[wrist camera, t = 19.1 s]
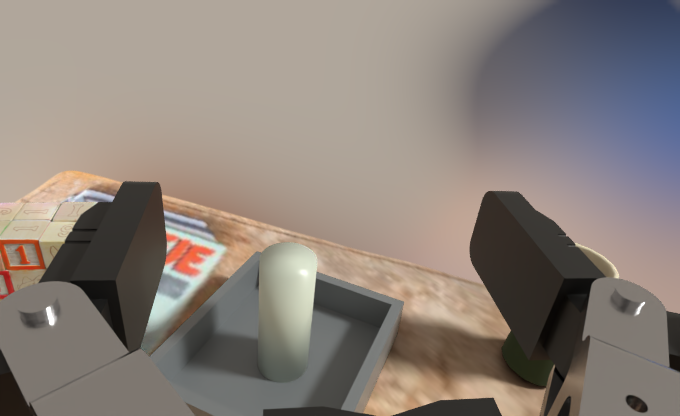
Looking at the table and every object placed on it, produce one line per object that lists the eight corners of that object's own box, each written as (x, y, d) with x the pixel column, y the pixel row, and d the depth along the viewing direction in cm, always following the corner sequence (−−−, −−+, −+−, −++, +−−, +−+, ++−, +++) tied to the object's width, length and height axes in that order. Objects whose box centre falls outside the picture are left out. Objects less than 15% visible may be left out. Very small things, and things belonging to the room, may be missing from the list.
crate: (136, 412, 40) (129, 375, 37) (256, 282, 55) (256, 251, 53) (322, 505, 35) (327, 469, 33) (397, 334, 50) (404, 301, 48)
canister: (247, 369, 43) (247, 265, 37) (274, 336, 47) (278, 236, 41) (292, 390, 42) (300, 285, 36) (316, 354, 46) (326, 253, 39)
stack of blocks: (-122, 357, 42) (-187, 242, 36) (-81, 307, 47) (-131, 200, 41) (136, 345, 46) (118, 239, 40) (148, 300, 51) (134, 201, 45)
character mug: (568, 341, 52) (615, 243, 45) (599, 397, 46) (659, 293, 39) (470, 335, 51) (502, 234, 45) (488, 391, 45) (529, 284, 39)
